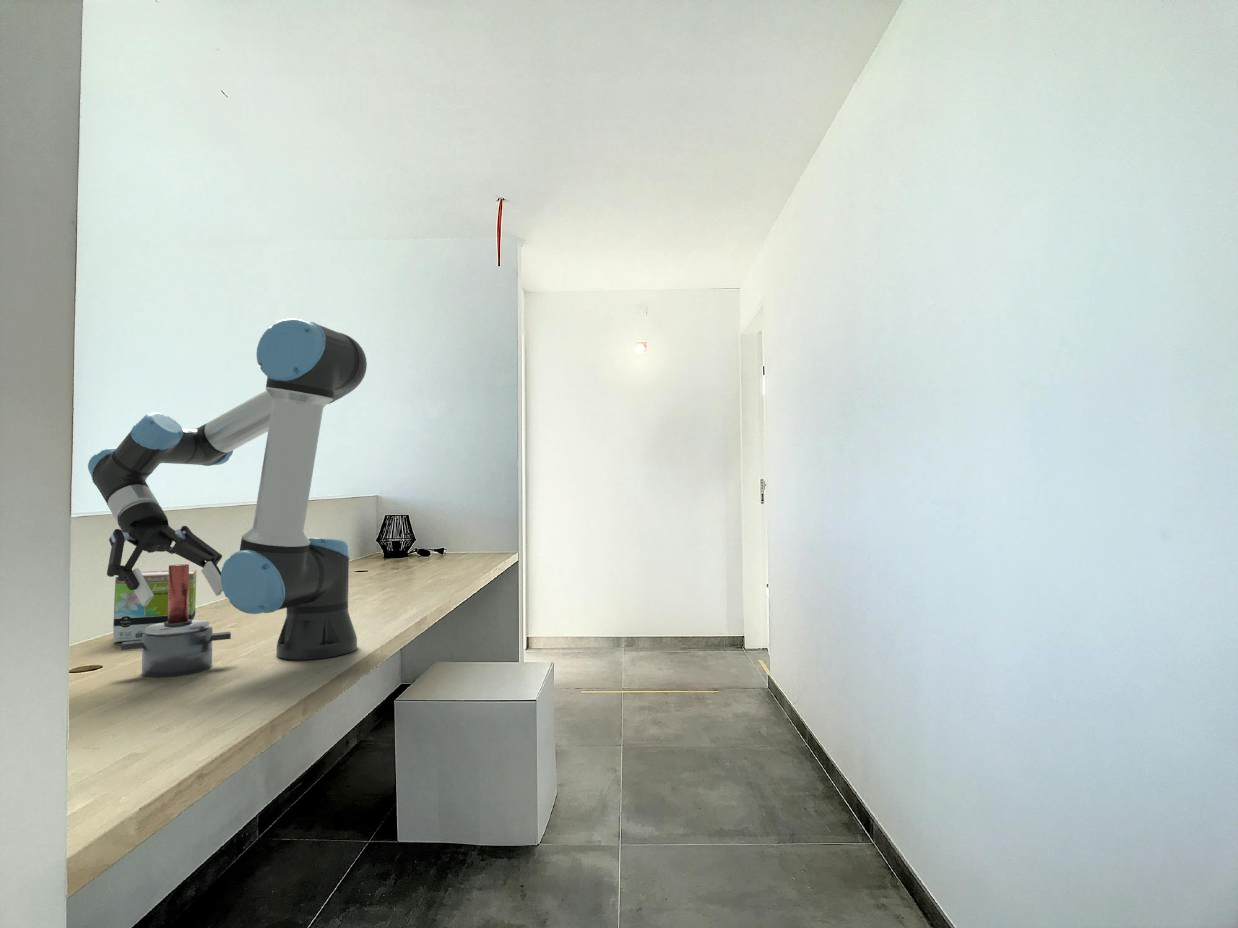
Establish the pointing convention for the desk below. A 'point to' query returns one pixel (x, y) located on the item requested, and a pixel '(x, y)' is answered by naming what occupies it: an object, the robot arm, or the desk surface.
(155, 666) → the pot
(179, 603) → the lid
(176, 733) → the desk surface
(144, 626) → the tea box
